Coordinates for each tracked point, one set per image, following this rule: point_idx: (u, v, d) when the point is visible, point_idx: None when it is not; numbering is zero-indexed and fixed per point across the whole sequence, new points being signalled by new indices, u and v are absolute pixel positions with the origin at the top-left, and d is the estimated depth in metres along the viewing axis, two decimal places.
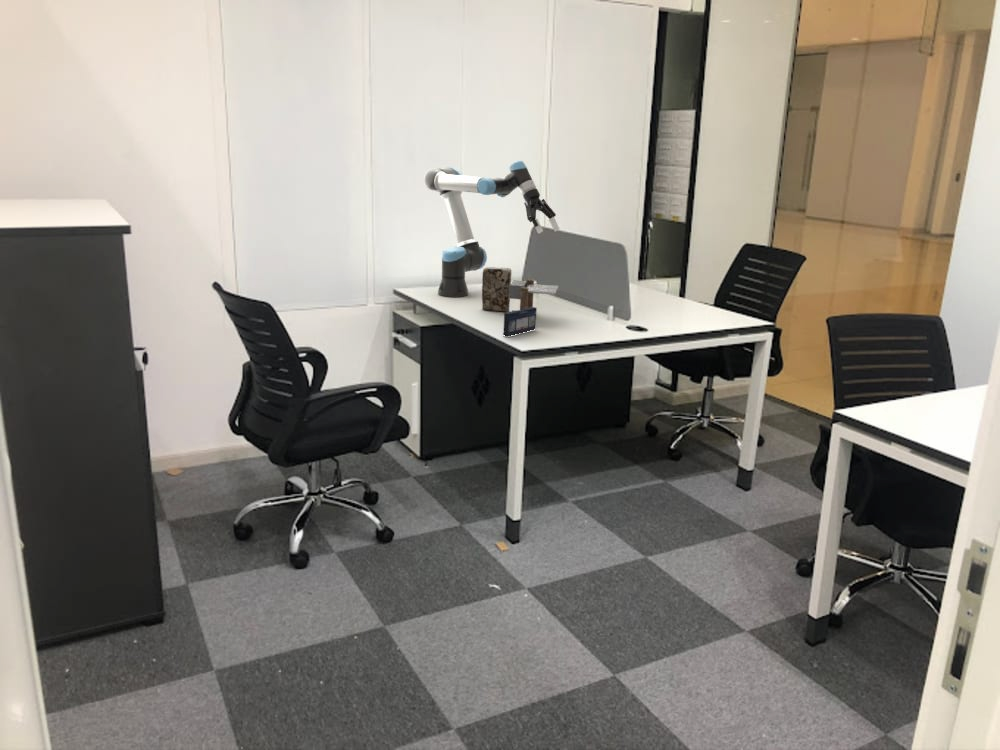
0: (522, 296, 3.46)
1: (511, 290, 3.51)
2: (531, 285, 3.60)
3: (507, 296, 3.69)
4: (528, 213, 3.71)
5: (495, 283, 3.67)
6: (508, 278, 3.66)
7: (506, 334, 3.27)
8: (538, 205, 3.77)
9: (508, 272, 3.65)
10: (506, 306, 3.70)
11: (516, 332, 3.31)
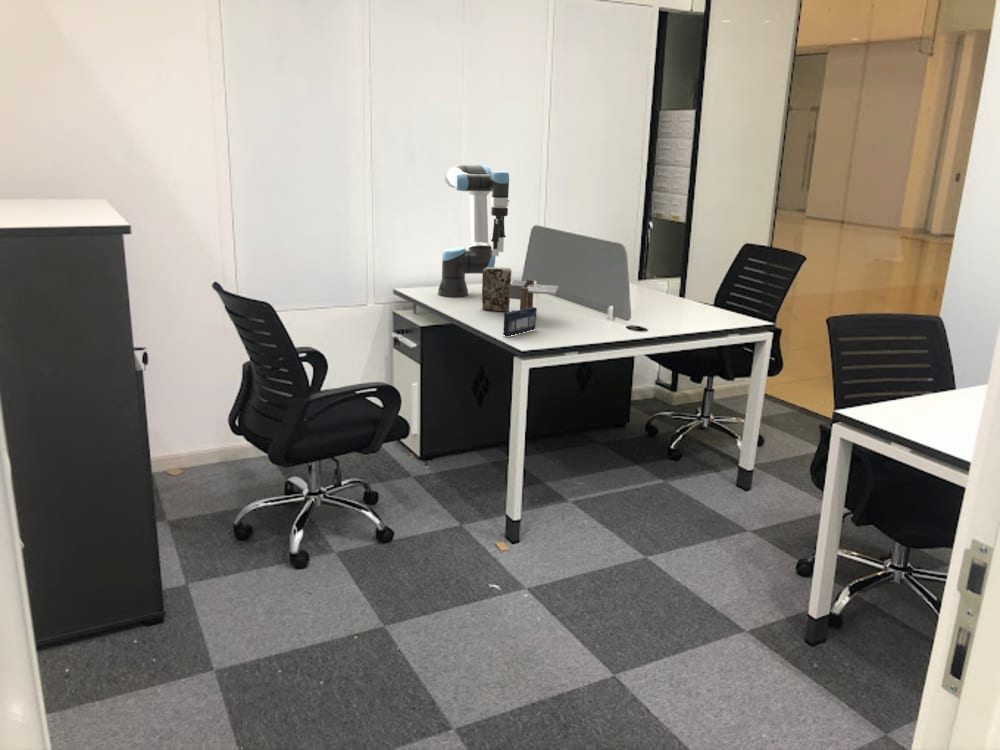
0: (522, 296, 3.46)
1: (511, 290, 3.51)
2: (531, 285, 3.60)
3: (507, 296, 3.69)
4: (495, 233, 3.54)
5: (495, 283, 3.67)
6: (508, 278, 3.66)
7: (506, 334, 3.27)
8: None
9: (508, 272, 3.65)
10: (506, 306, 3.70)
11: (516, 332, 3.31)
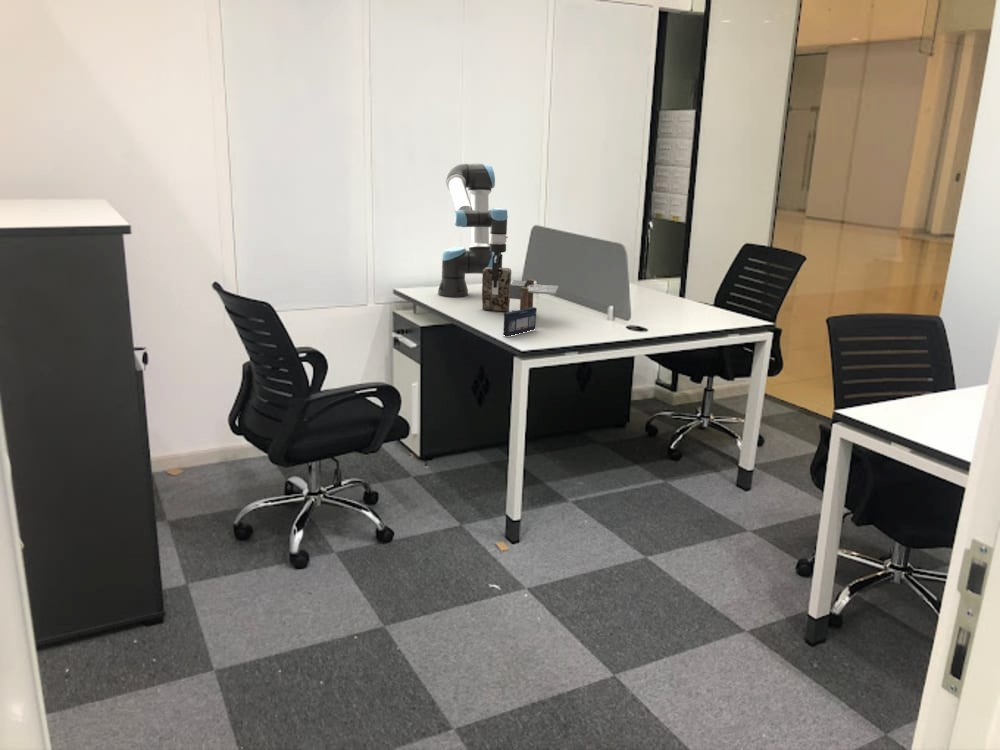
0: (522, 296, 3.46)
1: (511, 290, 3.51)
2: (531, 285, 3.60)
3: (507, 296, 3.68)
4: (494, 273, 3.62)
5: None
6: (508, 278, 3.65)
7: (506, 334, 3.27)
8: None
9: (508, 272, 3.65)
10: (506, 306, 3.70)
11: (516, 332, 3.31)
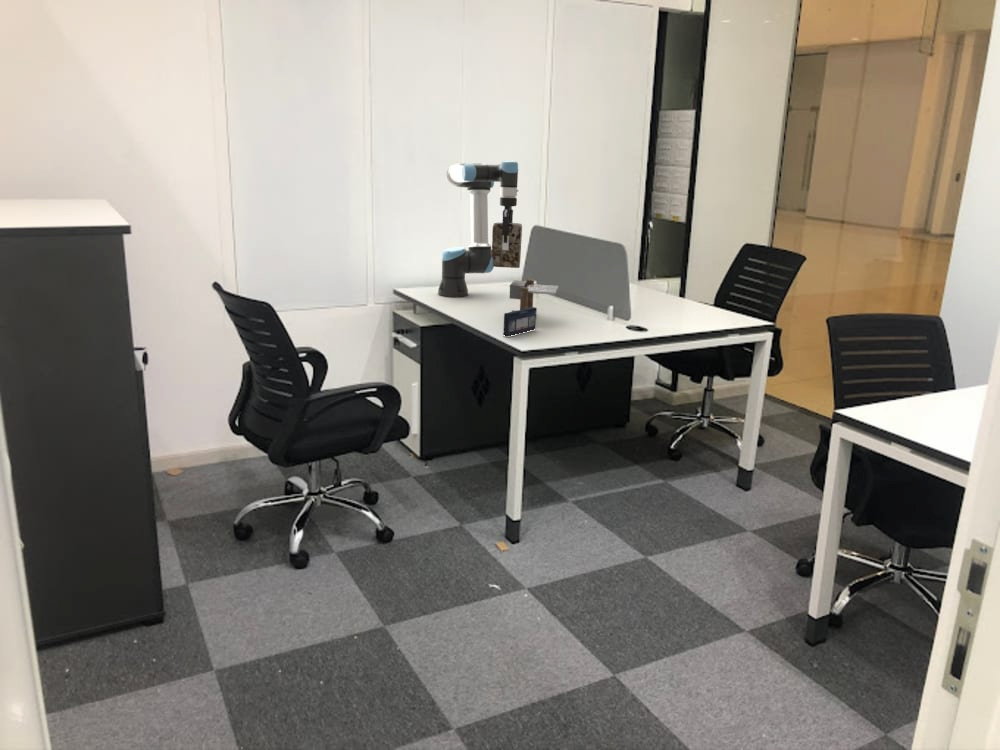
0: (522, 296, 3.46)
1: (511, 290, 3.51)
2: (531, 285, 3.60)
3: (518, 252, 3.59)
4: (504, 227, 3.53)
5: None
6: (519, 233, 3.56)
7: (506, 334, 3.27)
8: None
9: (519, 227, 3.55)
10: (517, 262, 3.61)
11: (516, 332, 3.31)
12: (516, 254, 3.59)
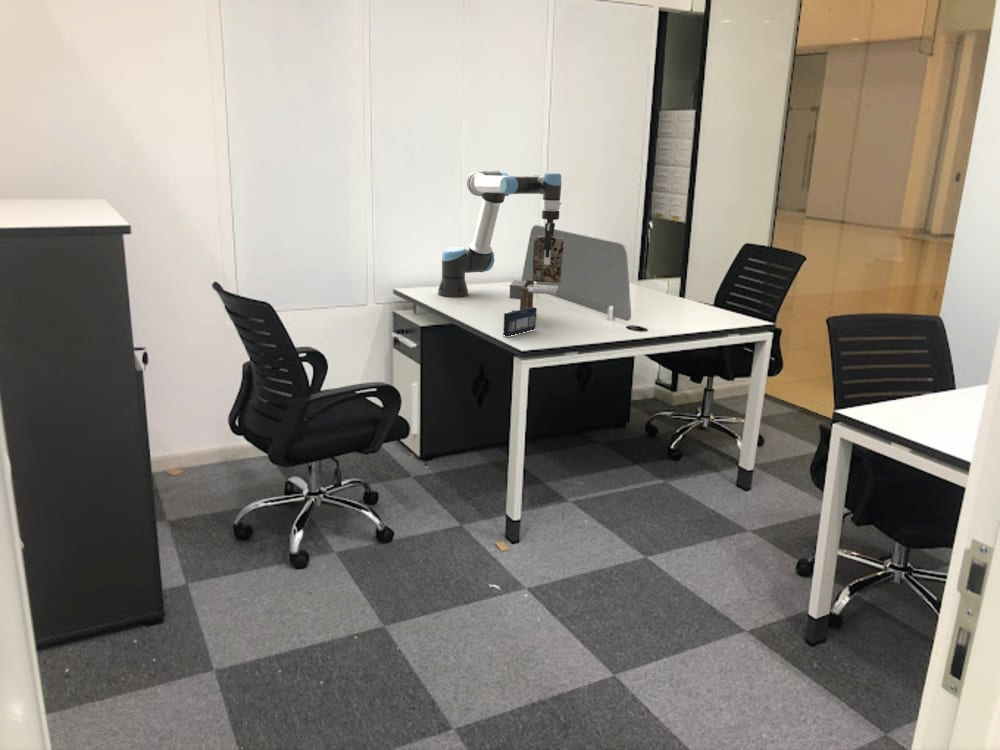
0: (522, 296, 3.46)
1: (511, 290, 3.51)
2: (531, 285, 3.60)
3: (560, 266, 3.48)
4: (547, 242, 3.42)
5: None
6: (561, 247, 3.45)
7: (506, 334, 3.27)
8: (552, 228, 3.46)
9: (561, 241, 3.44)
10: (558, 277, 3.50)
11: (516, 332, 3.31)
12: (558, 269, 3.49)
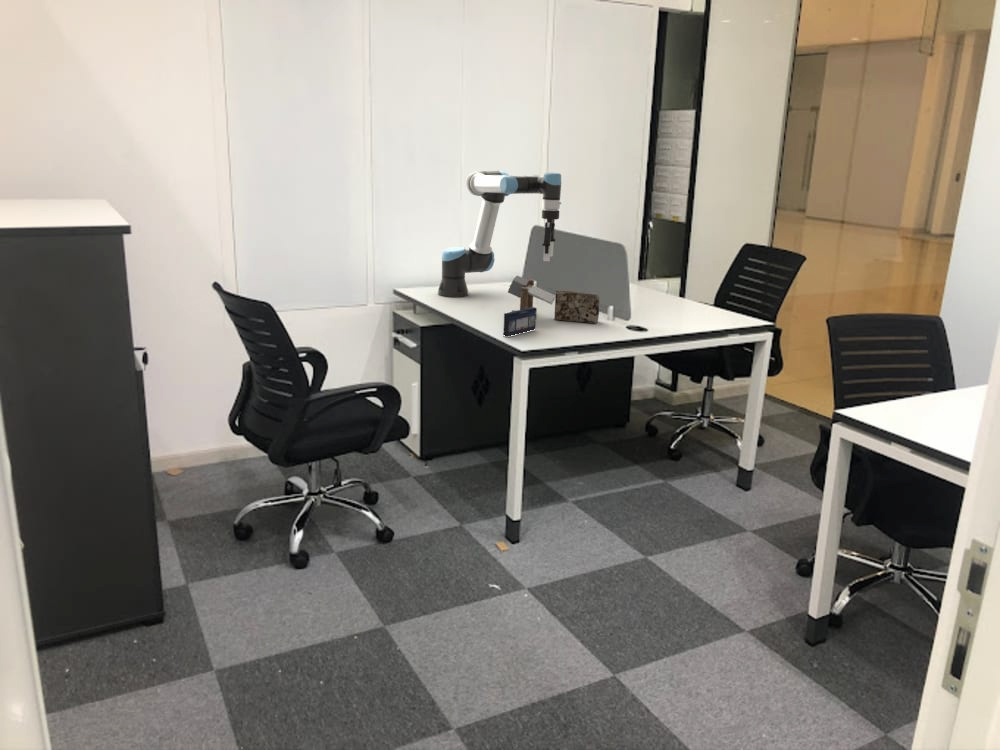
0: (522, 296, 3.46)
1: (512, 285, 3.51)
2: (531, 286, 3.60)
3: (570, 319, 3.57)
4: (546, 237, 3.39)
5: (583, 308, 3.55)
6: (588, 321, 3.55)
7: (506, 334, 3.27)
8: None
9: (595, 321, 3.55)
10: (559, 318, 3.58)
11: (516, 332, 3.31)
12: (567, 317, 3.57)
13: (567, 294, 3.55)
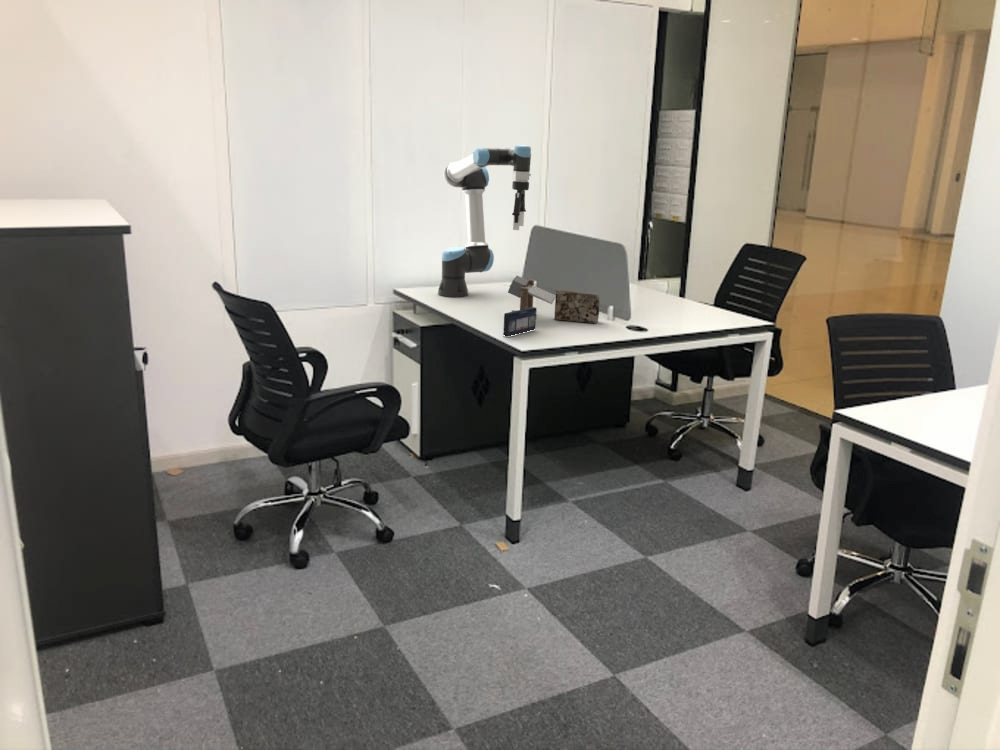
0: (522, 296, 3.46)
1: (512, 285, 3.51)
2: (531, 286, 3.60)
3: (570, 319, 3.57)
4: (516, 207, 3.57)
5: (583, 308, 3.55)
6: (588, 321, 3.55)
7: (506, 334, 3.27)
8: None
9: (595, 321, 3.55)
10: (559, 317, 3.58)
11: (516, 332, 3.31)
12: (567, 317, 3.57)
13: (567, 294, 3.55)
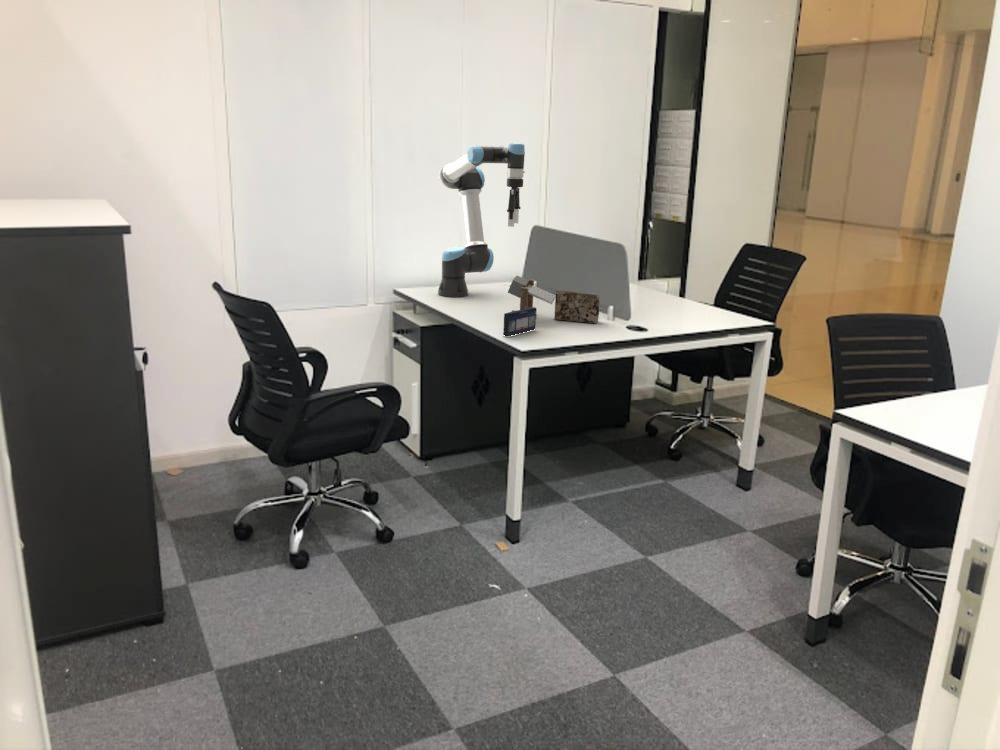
0: (522, 296, 3.46)
1: (512, 285, 3.51)
2: (531, 286, 3.60)
3: (570, 319, 3.57)
4: (511, 204, 3.60)
5: (583, 308, 3.55)
6: (588, 321, 3.55)
7: (506, 334, 3.27)
8: None
9: (595, 321, 3.55)
10: (559, 317, 3.58)
11: (516, 332, 3.31)
12: (567, 317, 3.57)
13: (567, 294, 3.55)
